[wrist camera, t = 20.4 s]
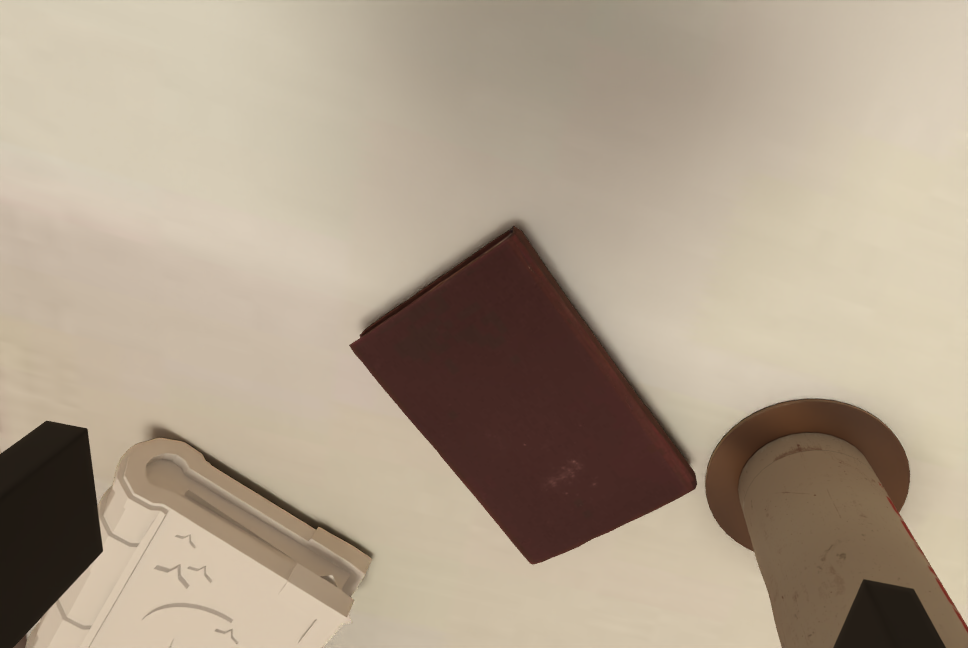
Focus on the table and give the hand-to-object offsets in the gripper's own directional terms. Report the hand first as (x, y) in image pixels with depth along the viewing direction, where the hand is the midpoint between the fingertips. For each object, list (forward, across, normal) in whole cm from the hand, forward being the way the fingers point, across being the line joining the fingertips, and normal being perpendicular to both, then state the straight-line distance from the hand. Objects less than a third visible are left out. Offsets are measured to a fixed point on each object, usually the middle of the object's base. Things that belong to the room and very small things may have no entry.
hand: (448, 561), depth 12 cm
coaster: (+31, +18, -16) cm, 39 cm away
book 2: (+31, 0, -14) cm, 34 cm away
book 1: (+31, -23, -37) cm, 53 cm away
